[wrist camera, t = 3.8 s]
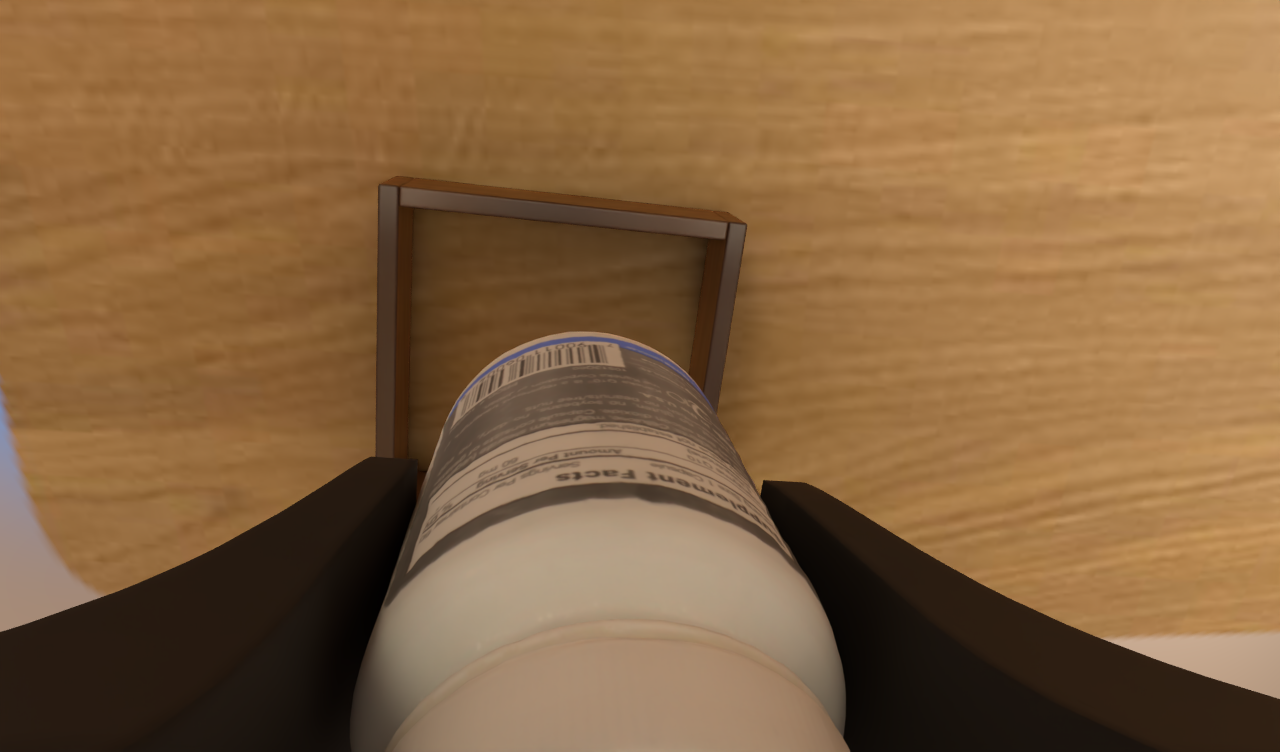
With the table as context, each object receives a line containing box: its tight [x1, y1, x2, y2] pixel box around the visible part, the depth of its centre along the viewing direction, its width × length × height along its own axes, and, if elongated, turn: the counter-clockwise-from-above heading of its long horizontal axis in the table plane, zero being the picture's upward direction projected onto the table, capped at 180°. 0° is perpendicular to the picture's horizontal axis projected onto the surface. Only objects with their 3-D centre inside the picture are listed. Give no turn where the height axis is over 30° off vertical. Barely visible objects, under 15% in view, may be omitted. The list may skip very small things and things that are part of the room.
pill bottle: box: [350, 331, 850, 752], centre depth 9 cm, size 5×5×8 cm
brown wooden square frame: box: [376, 176, 747, 503], centre depth 17 cm, size 7×7×2 cm
